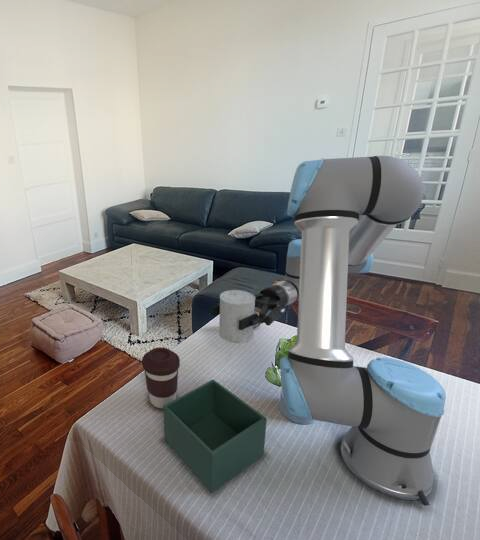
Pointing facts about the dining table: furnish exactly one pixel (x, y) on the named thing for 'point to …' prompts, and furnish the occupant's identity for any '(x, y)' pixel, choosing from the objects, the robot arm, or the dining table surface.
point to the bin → (214, 433)
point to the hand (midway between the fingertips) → (225, 318)
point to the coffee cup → (161, 375)
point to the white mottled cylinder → (235, 315)
